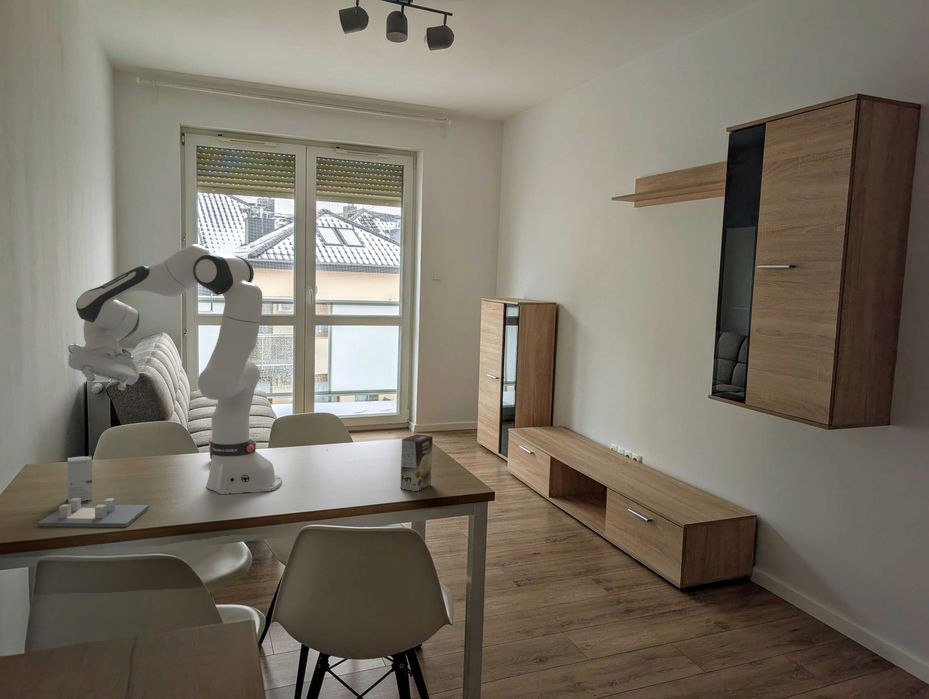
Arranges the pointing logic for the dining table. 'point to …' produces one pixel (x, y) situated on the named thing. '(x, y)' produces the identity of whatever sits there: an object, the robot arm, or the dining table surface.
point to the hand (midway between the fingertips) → (107, 384)
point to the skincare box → (80, 478)
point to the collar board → (93, 514)
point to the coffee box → (416, 462)
